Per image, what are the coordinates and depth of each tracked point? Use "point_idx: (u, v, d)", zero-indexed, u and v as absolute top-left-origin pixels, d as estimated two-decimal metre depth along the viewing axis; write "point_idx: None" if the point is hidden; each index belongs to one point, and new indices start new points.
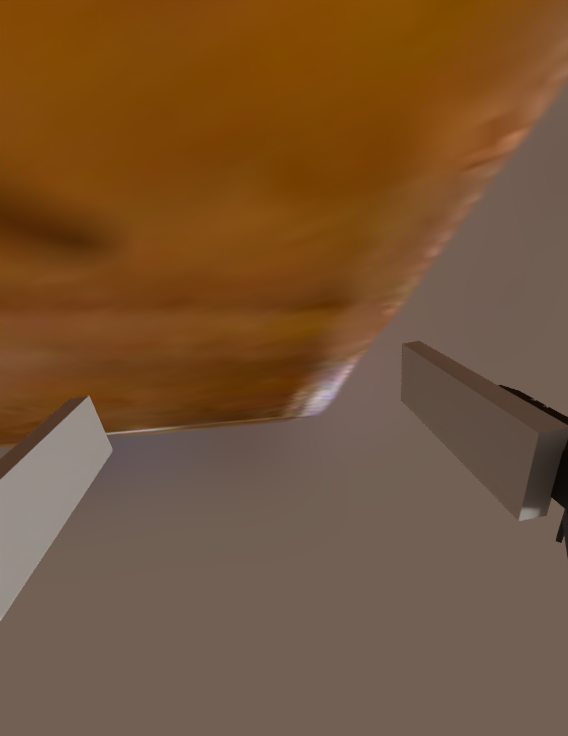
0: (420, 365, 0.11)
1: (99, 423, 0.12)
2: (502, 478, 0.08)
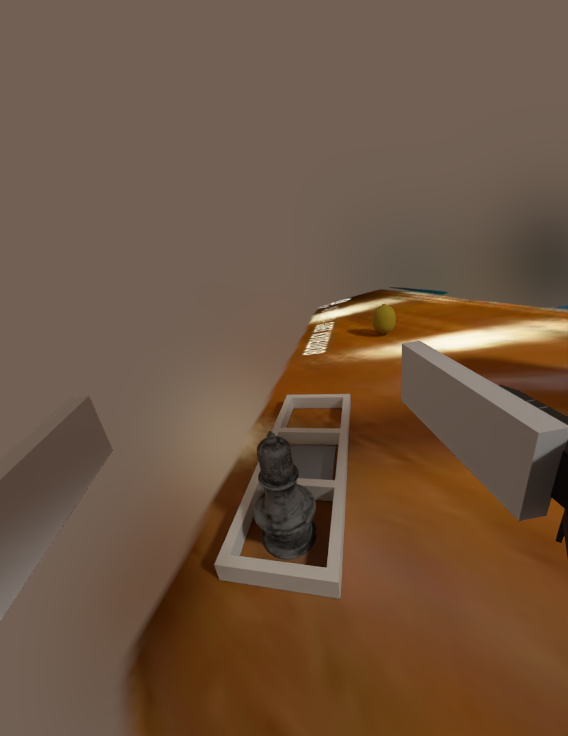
0: (420, 364, 0.11)
1: (99, 423, 0.12)
2: (502, 478, 0.08)
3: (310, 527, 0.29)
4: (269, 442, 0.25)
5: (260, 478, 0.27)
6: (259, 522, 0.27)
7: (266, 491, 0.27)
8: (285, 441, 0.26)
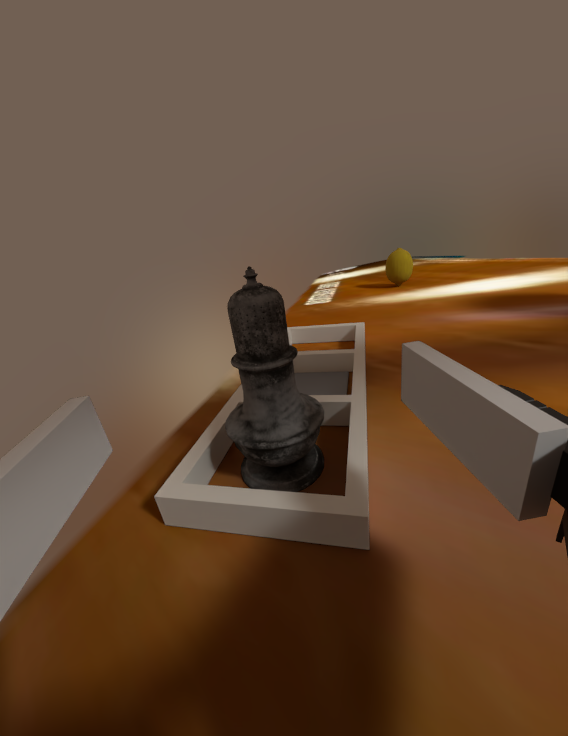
0: (420, 365, 0.11)
1: (99, 423, 0.12)
2: (502, 478, 0.08)
3: (315, 453, 0.19)
4: (246, 285, 0.15)
5: (234, 358, 0.16)
6: (233, 433, 0.17)
7: (244, 379, 0.16)
8: (275, 290, 0.15)
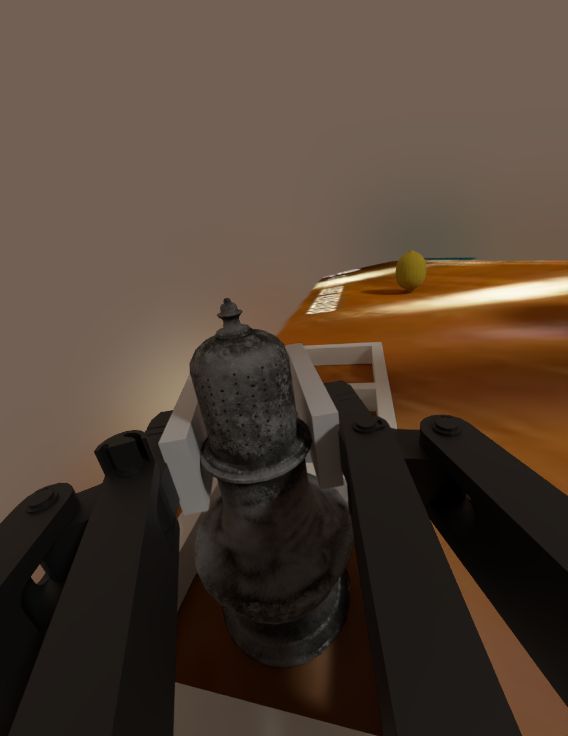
0: (291, 363, 0.13)
1: None
2: (313, 456, 0.10)
3: None
4: (222, 333, 0.08)
5: (204, 450, 0.10)
6: (204, 570, 0.10)
7: (221, 486, 0.09)
8: (274, 337, 0.09)
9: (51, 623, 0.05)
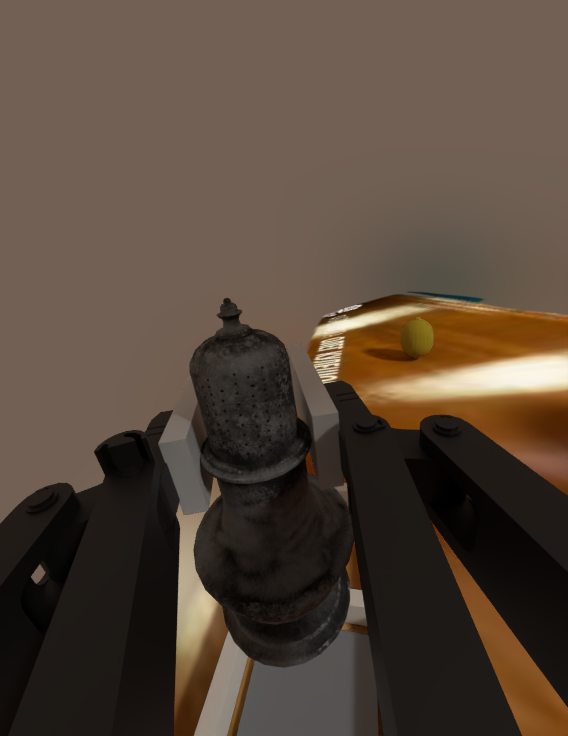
0: (291, 363, 0.13)
1: None
2: (313, 456, 0.10)
3: None
4: (222, 333, 0.08)
5: (204, 450, 0.10)
6: (204, 570, 0.10)
7: (221, 486, 0.09)
8: (274, 337, 0.09)
9: (51, 623, 0.05)
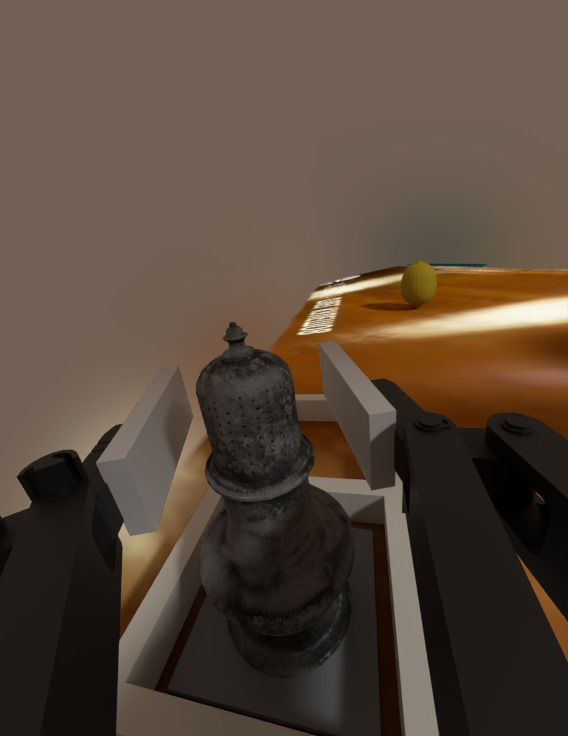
0: (326, 361, 0.13)
1: (185, 390, 0.14)
2: (362, 455, 0.10)
3: None
4: (228, 356, 0.08)
5: (209, 466, 0.10)
6: (209, 583, 0.10)
7: (226, 502, 0.10)
8: (278, 359, 0.09)
9: None
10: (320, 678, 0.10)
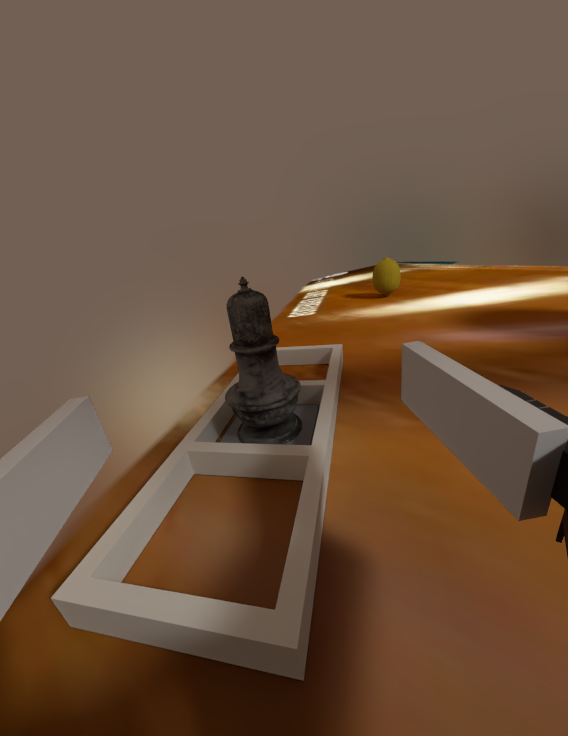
0: (420, 365, 0.11)
1: (99, 423, 0.12)
2: (502, 478, 0.08)
3: (295, 420, 0.24)
4: (240, 290, 0.20)
5: (231, 345, 0.22)
6: (231, 401, 0.22)
7: (239, 360, 0.22)
8: None
9: None
10: None
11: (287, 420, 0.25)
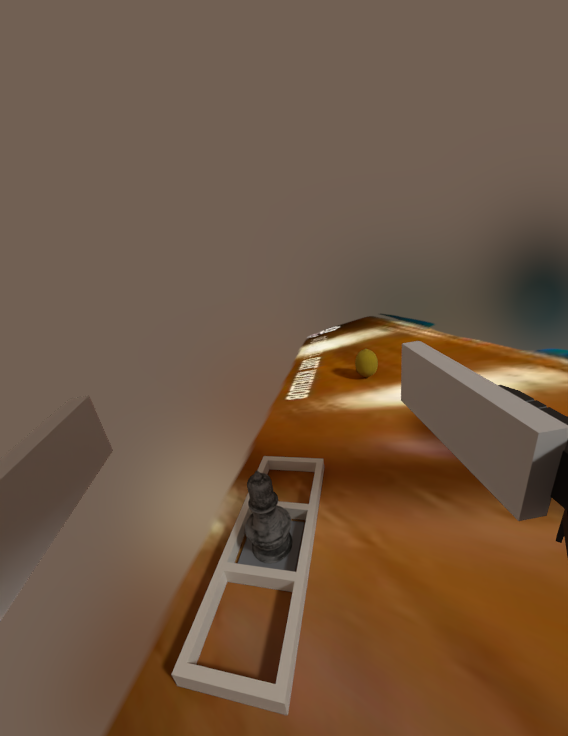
0: (420, 365, 0.11)
1: (99, 423, 0.12)
2: (502, 478, 0.08)
3: (288, 539, 0.39)
4: (255, 479, 0.35)
5: (249, 503, 0.36)
6: (249, 536, 0.37)
7: (254, 513, 0.36)
8: (267, 477, 0.35)
9: None
10: (280, 563, 0.37)
11: None
